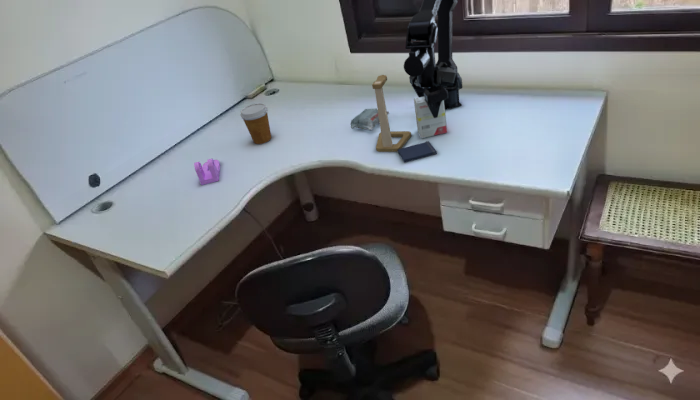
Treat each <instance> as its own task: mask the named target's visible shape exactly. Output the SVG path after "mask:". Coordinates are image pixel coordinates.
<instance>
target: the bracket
mask: <svg viewBox="0 0 700 400" xmlns="http://www.w3.org/2000/svg"><path fill="white" fill-rule="evenodd" d="M193 168H194V171H195V173H196V176H197V177H198V180H199V183H200V185H201V186H203V185H208V184H212V183H215V182H220V172H221V163H220V161H219V160H218V159H214V158H207V160H206V162H204V163H203V164H202V163H201V162H200V161H195V162H194V163H193Z"/></svg>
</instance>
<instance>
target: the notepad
mask: <svg viewBox="0 0 700 400" xmlns="http://www.w3.org/2000/svg"><path fill="white" fill-rule="evenodd" d="M397 153H398V155H399V157H400V158H401V160H402V161H403V163H409V162H412V161H416V160H420V159H424V158H427V157H431V156H435V155H438V150H437V149H435V147H434V146H433V144H432V143H431V141H429V140H427V141H424V142H420V143H417V144H413V145H410V146H406V147H405V146H404V147H402V148H401V149H398V152H397Z"/></svg>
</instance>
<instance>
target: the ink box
mask: <svg viewBox="0 0 700 400" xmlns="http://www.w3.org/2000/svg"><path fill="white" fill-rule="evenodd" d="M424 99H425V97H415V98H413V105H414V113H415V114H414V115H415V120H416V121H415V122H416V128H417V129H416V131H417V134H418V136H419V138H420V139H425V138H430V137H434V136H438V135H443V134H446V133H448V127H447V126H448V125H447V117H446V110H445V107H444V100H443V101H442V102H441V105H440V108H439V113H438V117H437V118H434V117H433V115H432V113H431V111H430V110H429V108H428V106H427V104H426V102H425V100H424Z"/></svg>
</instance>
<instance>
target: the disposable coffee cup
mask: <svg viewBox="0 0 700 400" xmlns="http://www.w3.org/2000/svg"><path fill="white" fill-rule="evenodd" d="M268 110H269V109H268V107H267V106H266V104H265V103H262V102H257V103H251V104H249V105H246V106H244V107H243V108H242V109H240V115H239V116H240V118H241V119H242V121H243V122H244V124H245V127H246V128H247V131H248V133H249V134H250V137H251V139H252V141H253V143H254V144H256V145H263V144H266V143H268V142H269V141H271V140H272V134H271V127H270V121H269V115H268Z"/></svg>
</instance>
